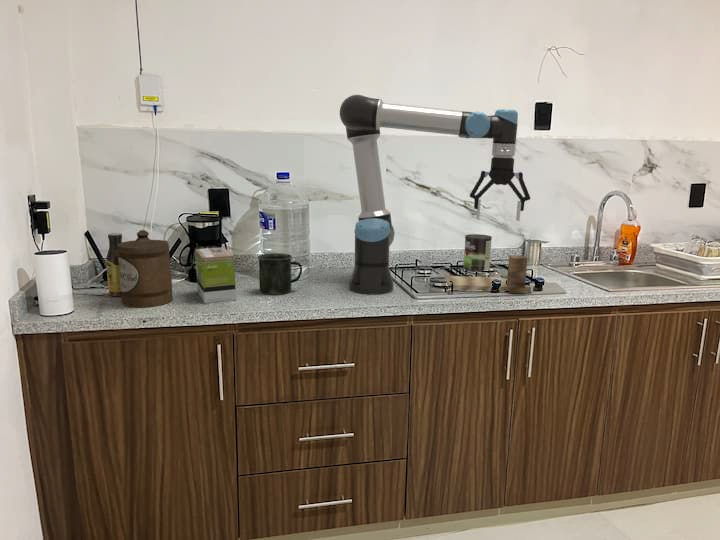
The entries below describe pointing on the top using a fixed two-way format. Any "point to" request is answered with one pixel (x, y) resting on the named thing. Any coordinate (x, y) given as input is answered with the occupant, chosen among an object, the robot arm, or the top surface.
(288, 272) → the mug
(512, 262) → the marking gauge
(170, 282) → the wooden container
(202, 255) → the tea box
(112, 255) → the sauce bottle
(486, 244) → the coffee can
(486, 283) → the birch board
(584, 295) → the top surface
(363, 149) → the robot arm
